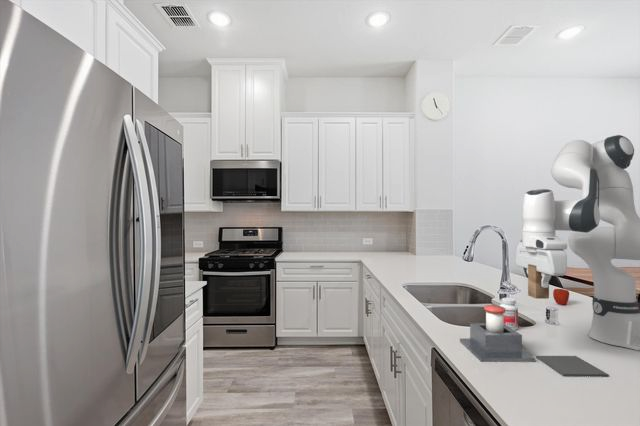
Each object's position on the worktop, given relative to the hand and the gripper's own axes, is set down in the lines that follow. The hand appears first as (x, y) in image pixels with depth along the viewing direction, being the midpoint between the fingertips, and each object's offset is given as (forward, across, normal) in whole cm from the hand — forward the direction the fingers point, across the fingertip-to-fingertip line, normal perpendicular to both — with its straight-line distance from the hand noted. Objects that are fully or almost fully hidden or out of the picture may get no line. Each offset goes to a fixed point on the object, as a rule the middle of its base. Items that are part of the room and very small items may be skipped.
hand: (538, 285), depth 108 cm
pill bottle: (+21, -24, +3) cm, 32 cm away
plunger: (+17, -2, -13) cm, 21 cm away
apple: (+21, -58, +46) cm, 77 cm away
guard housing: (+21, -2, -13) cm, 25 cm away
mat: (+21, +9, +3) cm, 23 cm away
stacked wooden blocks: (+4, 0, 0) cm, 4 cm away
